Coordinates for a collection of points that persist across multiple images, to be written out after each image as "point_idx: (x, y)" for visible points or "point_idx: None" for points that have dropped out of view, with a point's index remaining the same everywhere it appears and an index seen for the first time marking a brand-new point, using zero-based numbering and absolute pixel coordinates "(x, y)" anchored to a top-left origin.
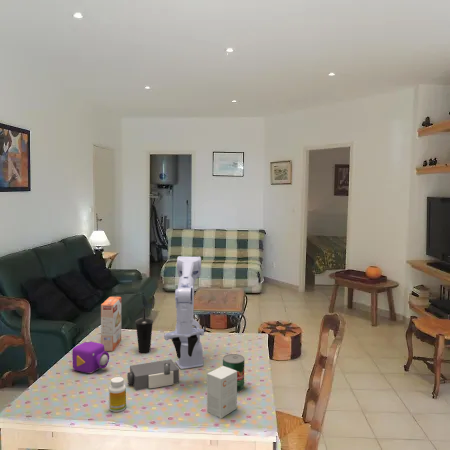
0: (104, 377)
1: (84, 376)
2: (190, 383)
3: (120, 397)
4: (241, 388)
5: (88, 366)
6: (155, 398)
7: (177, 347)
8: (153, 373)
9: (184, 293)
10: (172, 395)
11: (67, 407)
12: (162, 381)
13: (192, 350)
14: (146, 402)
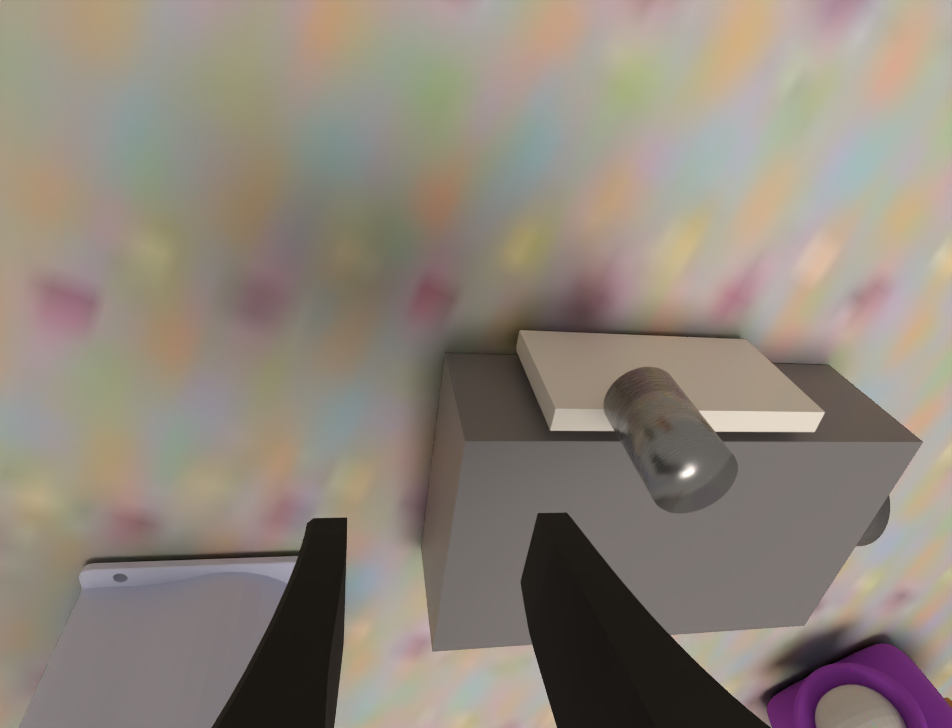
0: (850, 587)
1: (918, 621)
2: (339, 290)
3: None
4: None
5: (930, 683)
6: (804, 143)
7: (736, 714)
8: (753, 446)
9: None
10: (636, 118)
11: None
12: (646, 360)
13: (285, 618)
14: (916, 106)
